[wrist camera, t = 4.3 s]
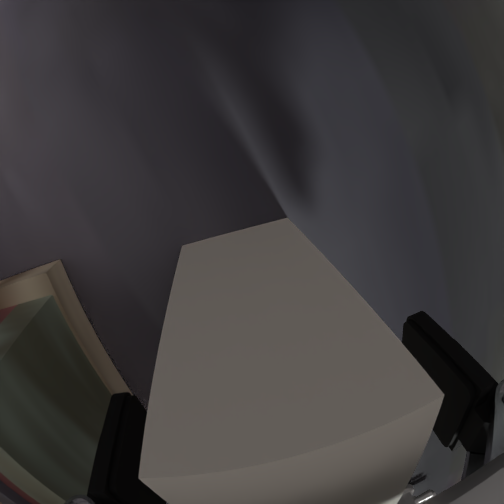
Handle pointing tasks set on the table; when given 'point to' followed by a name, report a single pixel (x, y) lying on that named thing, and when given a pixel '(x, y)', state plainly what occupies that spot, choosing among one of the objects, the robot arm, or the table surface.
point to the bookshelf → (49, 388)
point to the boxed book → (279, 382)
